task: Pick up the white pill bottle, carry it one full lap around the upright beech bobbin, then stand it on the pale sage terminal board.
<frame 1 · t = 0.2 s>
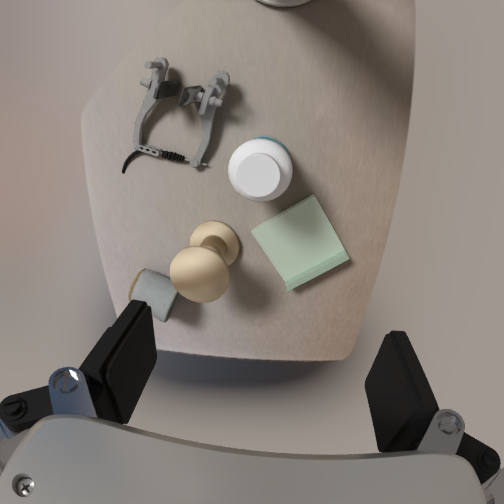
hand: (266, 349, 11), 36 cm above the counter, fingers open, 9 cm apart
bike brake: (176, 125, 43), on the counter
pill bottle: (264, 160, 44), on the counter
terminal board: (300, 240, 48), on the counter
bobbin: (215, 244, 50), on the counter
ceramic mug: (162, 289, 55), on the counter
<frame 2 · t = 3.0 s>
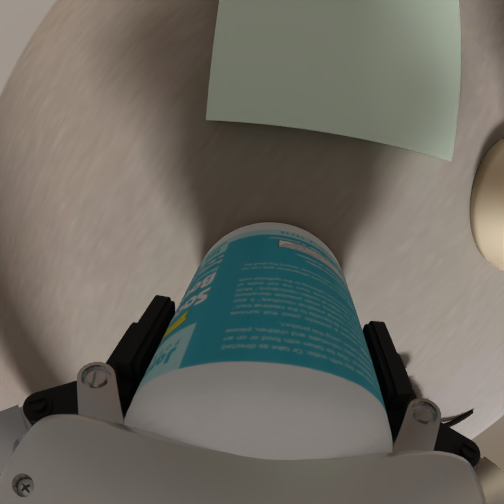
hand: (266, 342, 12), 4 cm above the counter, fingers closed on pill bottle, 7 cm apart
pill bottle: (270, 284, 16), on the counter, touching gripper
terminal board: (345, 23, 10), on the counter
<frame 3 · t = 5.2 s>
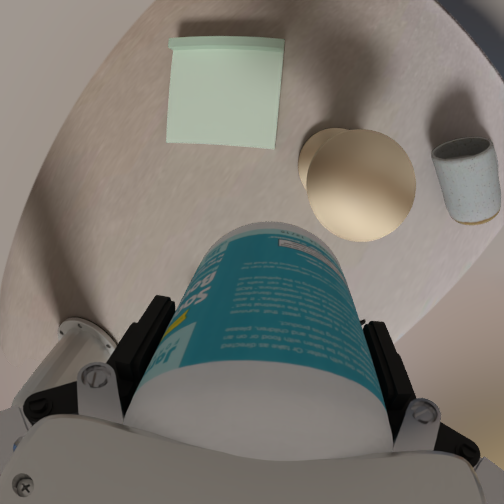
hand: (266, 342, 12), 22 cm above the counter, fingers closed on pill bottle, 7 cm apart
pill bottle: (270, 284, 16), point 17 cm above the counter, touching gripper
terminal board: (224, 92, 28), on the counter
bobbin: (336, 166, 30), on the counter
ceramic mug: (460, 167, 28), on the counter
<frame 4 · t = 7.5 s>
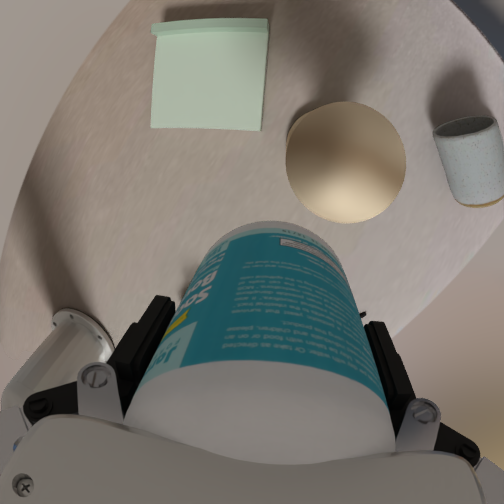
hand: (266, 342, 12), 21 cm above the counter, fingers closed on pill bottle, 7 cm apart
pill bottle: (271, 284, 16), point 16 cm above the counter, touching gripper
terminal board: (209, 75, 26), on the counter
bobbin: (326, 148, 28), on the counter
ceramic mug: (464, 148, 26), on the counter
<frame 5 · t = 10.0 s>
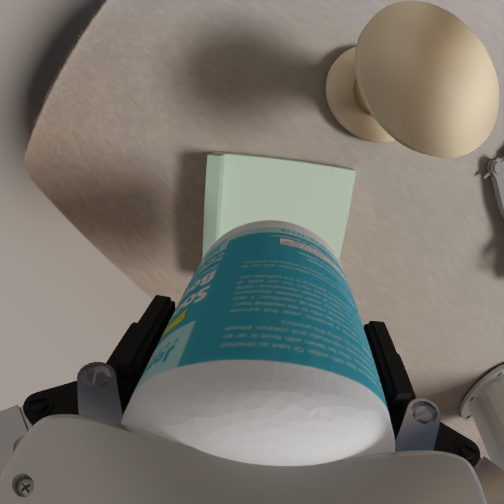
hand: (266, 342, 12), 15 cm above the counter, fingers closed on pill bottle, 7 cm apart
pill bottle: (270, 283, 16), point 10 cm above the counter, touching gripper
terminal board: (276, 224, 25), on the counter
bobbin: (374, 93, 20), on the counter
when the fingers open (7 cm above the counter, at t = 12.0 s): pill bottle drops 1 cm, resting on terminal board.
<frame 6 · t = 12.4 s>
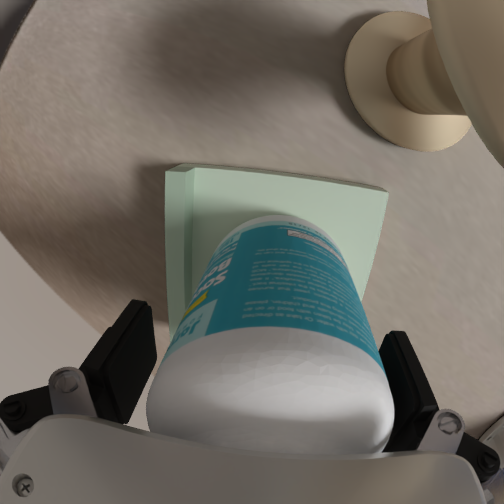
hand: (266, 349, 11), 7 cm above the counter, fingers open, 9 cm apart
pill bottle: (277, 274, 17), point 1 cm above the counter, touching terminal board
terminal board: (272, 265, 18), on the counter
bobbin: (413, 80, 13), on the counter
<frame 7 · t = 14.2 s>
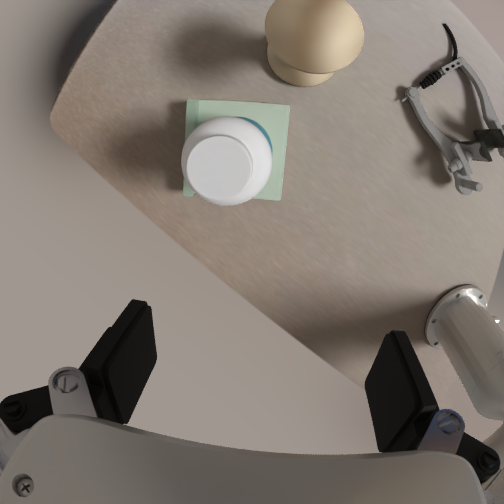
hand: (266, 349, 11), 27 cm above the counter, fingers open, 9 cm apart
bike brake: (449, 106, 29), on the counter
pill bottle: (239, 149, 33), point 1 cm above the counter, touching terminal board
terminal board: (237, 148, 34), on the counter
bobbin: (302, 54, 29), on the counter
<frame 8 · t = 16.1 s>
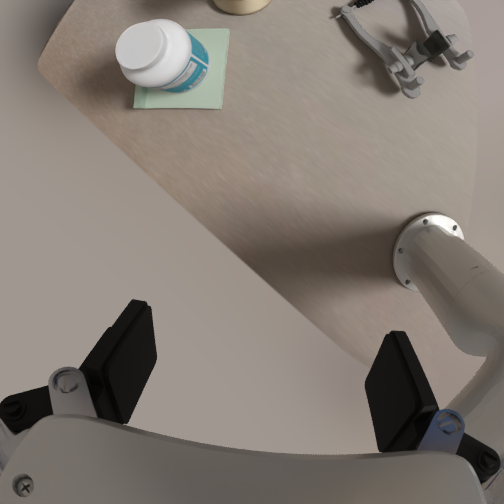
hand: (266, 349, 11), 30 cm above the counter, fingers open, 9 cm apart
bike brake: (390, 25, 29), on the counter
pill bottle: (184, 67, 33), point 1 cm above the counter, touching terminal board
terminal board: (184, 68, 34), on the counter
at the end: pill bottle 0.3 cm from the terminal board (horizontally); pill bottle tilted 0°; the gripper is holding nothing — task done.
